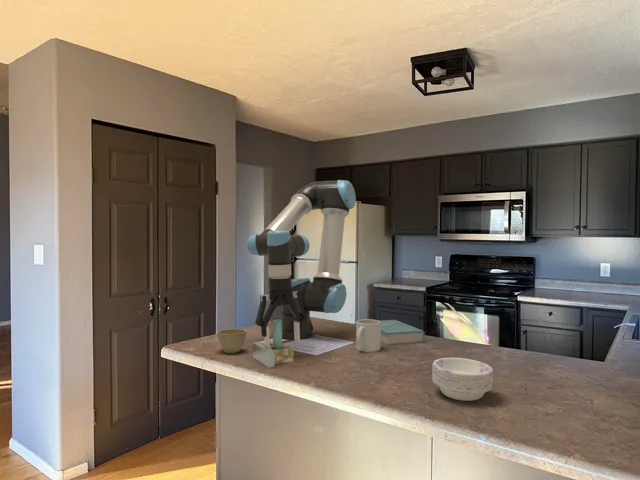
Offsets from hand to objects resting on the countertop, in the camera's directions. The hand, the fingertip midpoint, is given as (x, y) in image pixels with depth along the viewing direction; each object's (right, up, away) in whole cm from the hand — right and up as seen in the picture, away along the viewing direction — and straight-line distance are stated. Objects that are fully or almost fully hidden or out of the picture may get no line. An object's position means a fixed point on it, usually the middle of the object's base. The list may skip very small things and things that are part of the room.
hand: (282, 343), depth 151 cm
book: (+42, -6, +34) cm, 54 cm away
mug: (+29, -5, +14) cm, 33 cm away
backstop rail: (-6, -5, -3) cm, 9 cm away
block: (-2, -5, -1) cm, 5 cm away
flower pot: (-19, -5, +9) cm, 21 cm away
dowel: (-2, -4, -1) cm, 5 cm away
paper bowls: (+50, -6, -32) cm, 59 cm away
